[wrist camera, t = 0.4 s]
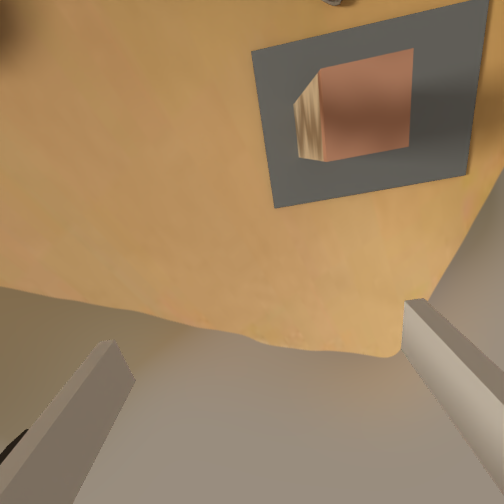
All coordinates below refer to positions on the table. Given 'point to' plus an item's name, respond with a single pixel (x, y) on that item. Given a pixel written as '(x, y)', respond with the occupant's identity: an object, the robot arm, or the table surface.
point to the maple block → (356, 108)
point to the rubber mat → (422, 102)
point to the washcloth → (332, 2)
